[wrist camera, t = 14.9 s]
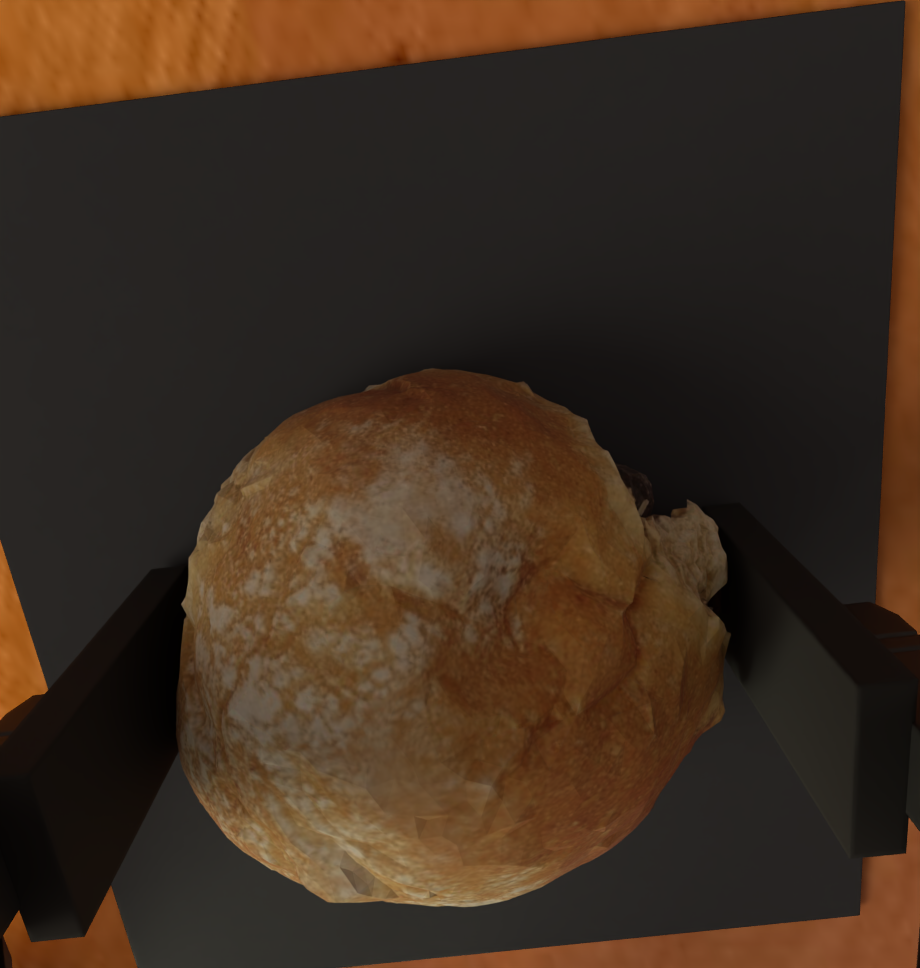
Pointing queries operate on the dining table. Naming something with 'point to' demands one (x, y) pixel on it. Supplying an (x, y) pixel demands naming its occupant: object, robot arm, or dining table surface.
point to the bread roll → (442, 645)
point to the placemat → (473, 348)
